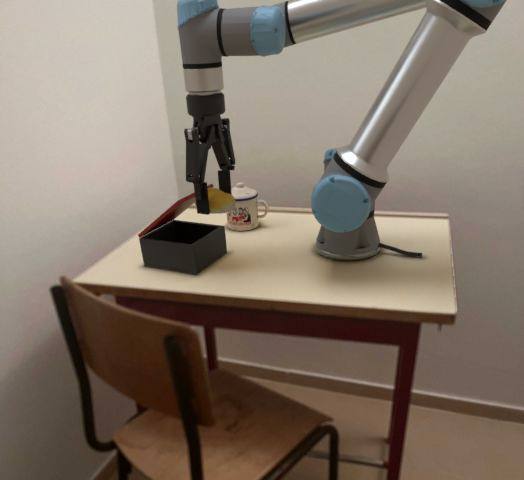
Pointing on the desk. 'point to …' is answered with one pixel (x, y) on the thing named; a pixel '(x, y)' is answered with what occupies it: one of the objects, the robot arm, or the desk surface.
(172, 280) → the desk surface
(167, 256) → the dark grey open box
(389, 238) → the desk surface
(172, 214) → the red box lid
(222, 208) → the bread roll
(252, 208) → the teacup with lid
